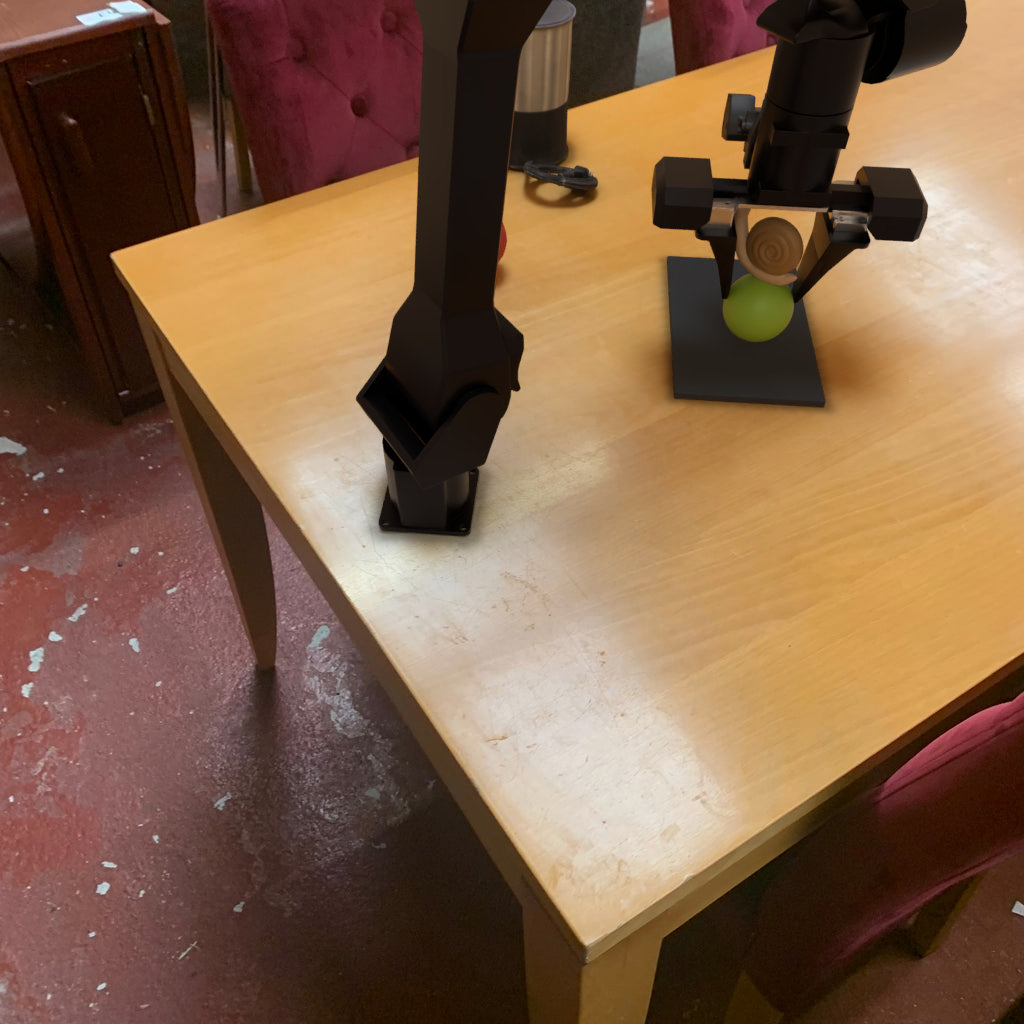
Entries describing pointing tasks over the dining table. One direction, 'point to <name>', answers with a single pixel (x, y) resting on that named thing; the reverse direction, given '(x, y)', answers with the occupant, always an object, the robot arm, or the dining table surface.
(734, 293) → the snail figurine
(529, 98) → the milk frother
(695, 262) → the mat
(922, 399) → the dining table surface
